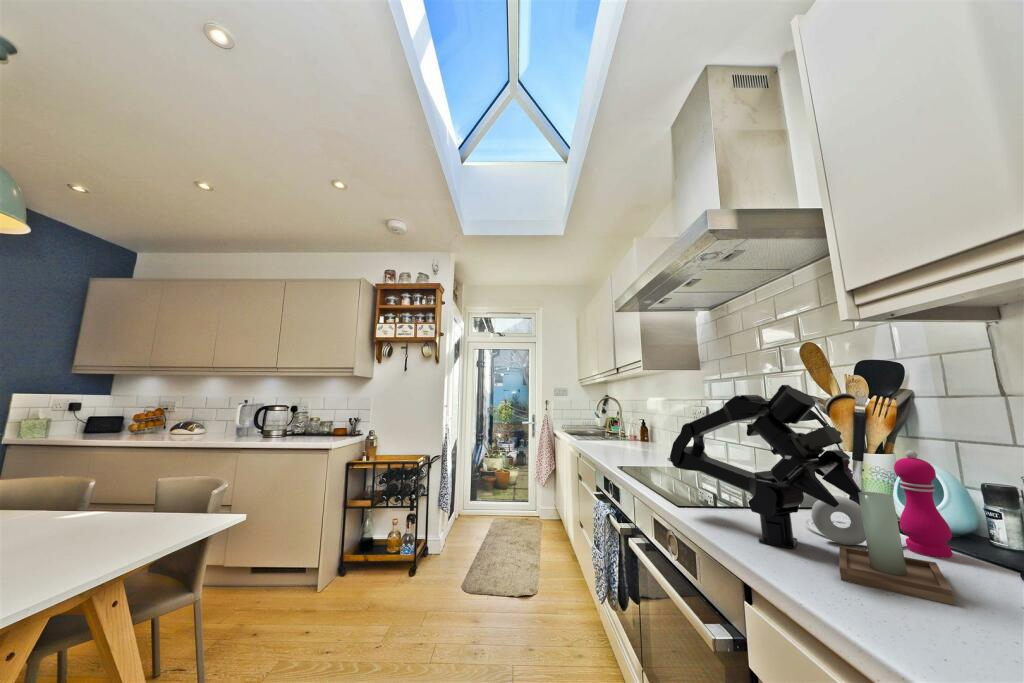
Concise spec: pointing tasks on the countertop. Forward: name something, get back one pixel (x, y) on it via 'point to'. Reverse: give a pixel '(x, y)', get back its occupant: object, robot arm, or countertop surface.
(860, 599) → the countertop surface
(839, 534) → the donut
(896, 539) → the sage cylinder
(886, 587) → the walnut tray
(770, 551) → the countertop surface
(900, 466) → the pepper mill
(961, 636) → the countertop surface
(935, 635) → the countertop surface
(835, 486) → the robot arm
